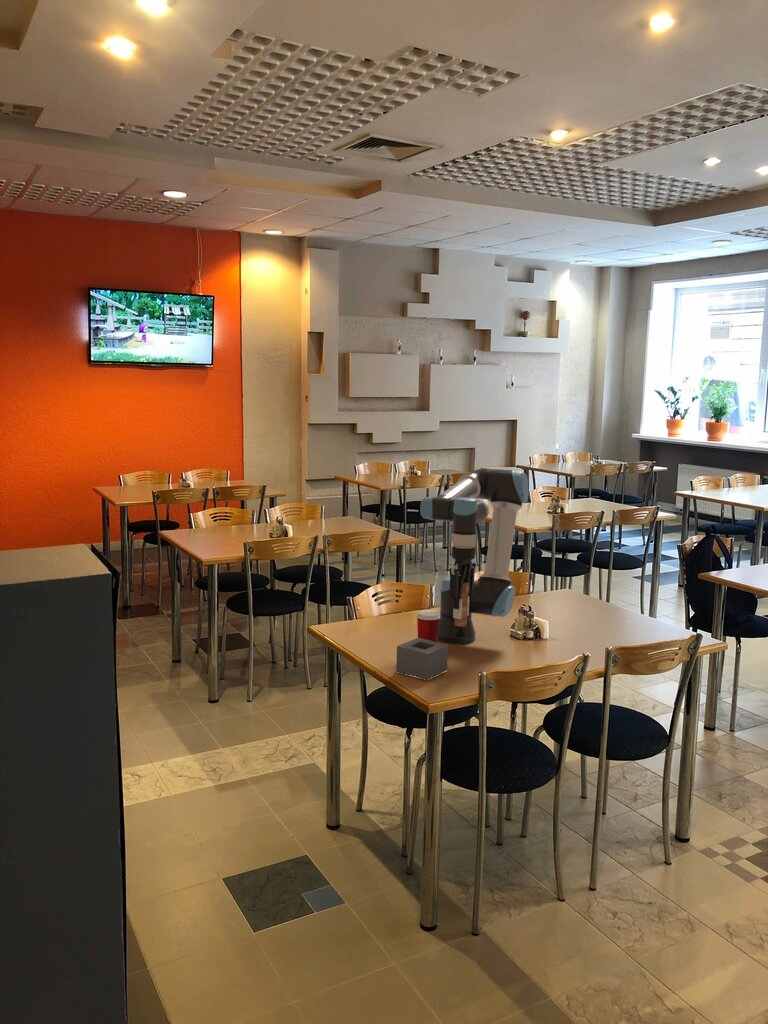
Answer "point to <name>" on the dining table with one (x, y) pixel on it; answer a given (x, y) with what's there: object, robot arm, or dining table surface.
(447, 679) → the dining table surface
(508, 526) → the robot arm
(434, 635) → the coffee cup
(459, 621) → the pin
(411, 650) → the socket block
